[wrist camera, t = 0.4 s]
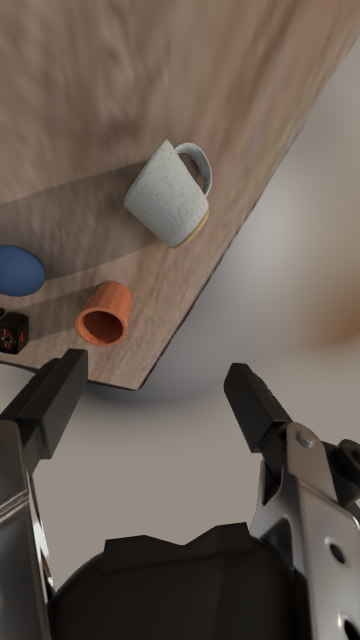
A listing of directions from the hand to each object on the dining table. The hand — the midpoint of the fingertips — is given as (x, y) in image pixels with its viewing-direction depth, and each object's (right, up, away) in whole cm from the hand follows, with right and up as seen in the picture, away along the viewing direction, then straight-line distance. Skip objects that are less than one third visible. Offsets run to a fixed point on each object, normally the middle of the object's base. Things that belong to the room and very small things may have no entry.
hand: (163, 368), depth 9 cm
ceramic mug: (0, +20, +14) cm, 24 cm away
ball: (-21, +9, +13) cm, 26 cm away
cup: (-11, +6, +20) cm, 23 cm away
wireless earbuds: (-27, +2, +20) cm, 34 cm away
